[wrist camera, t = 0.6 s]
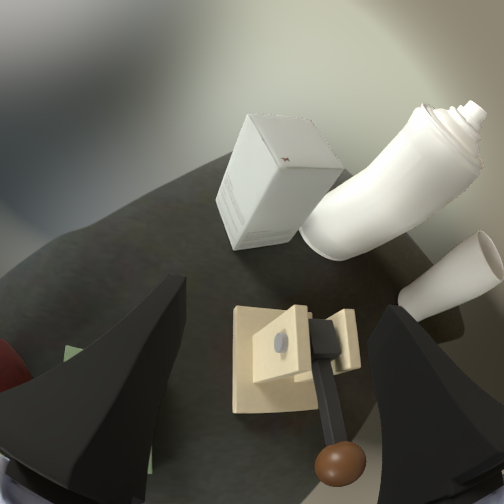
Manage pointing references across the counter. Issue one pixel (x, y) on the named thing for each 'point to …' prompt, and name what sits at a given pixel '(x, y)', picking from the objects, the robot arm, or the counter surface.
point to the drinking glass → (454, 278)
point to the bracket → (283, 358)
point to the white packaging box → (274, 180)
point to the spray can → (400, 183)
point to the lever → (331, 411)
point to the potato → (11, 368)
